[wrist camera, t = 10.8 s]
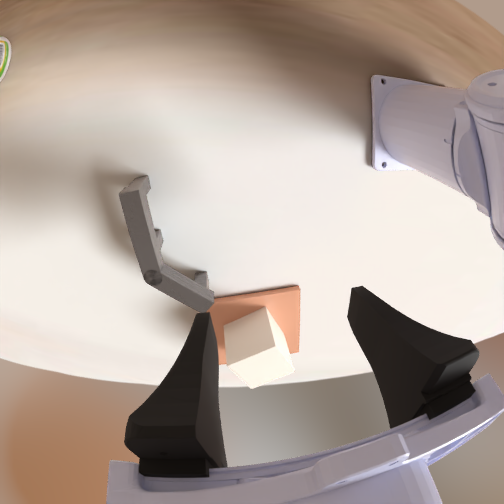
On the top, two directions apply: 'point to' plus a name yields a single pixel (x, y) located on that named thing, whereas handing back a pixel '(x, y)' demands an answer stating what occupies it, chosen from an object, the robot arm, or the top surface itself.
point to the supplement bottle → (4, 56)
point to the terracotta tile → (276, 301)
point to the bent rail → (150, 256)
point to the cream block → (257, 349)
